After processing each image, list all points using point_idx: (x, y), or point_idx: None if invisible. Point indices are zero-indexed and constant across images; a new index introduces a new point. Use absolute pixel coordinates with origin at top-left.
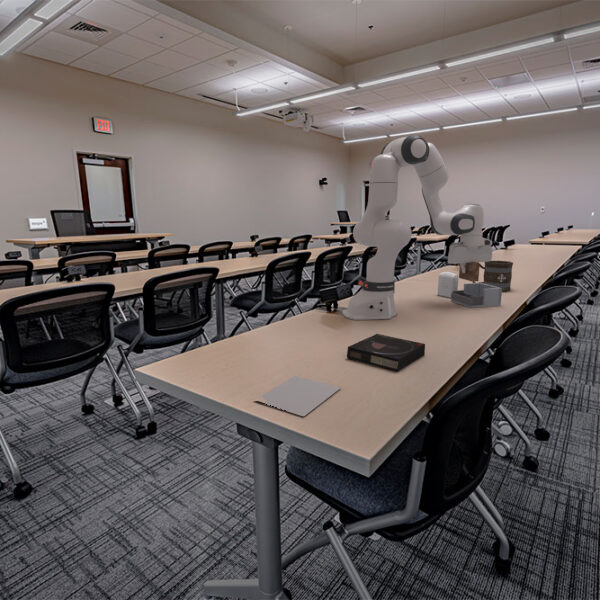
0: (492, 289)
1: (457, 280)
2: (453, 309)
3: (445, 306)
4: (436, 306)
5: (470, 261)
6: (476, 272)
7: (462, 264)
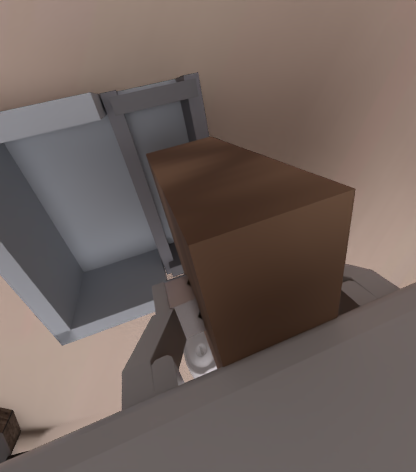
0: (6, 110)
1: (191, 347)
2: (276, 61)
3: (279, 134)
4: (312, 137)
5: (328, 340)
6: (198, 166)
7: (384, 286)
